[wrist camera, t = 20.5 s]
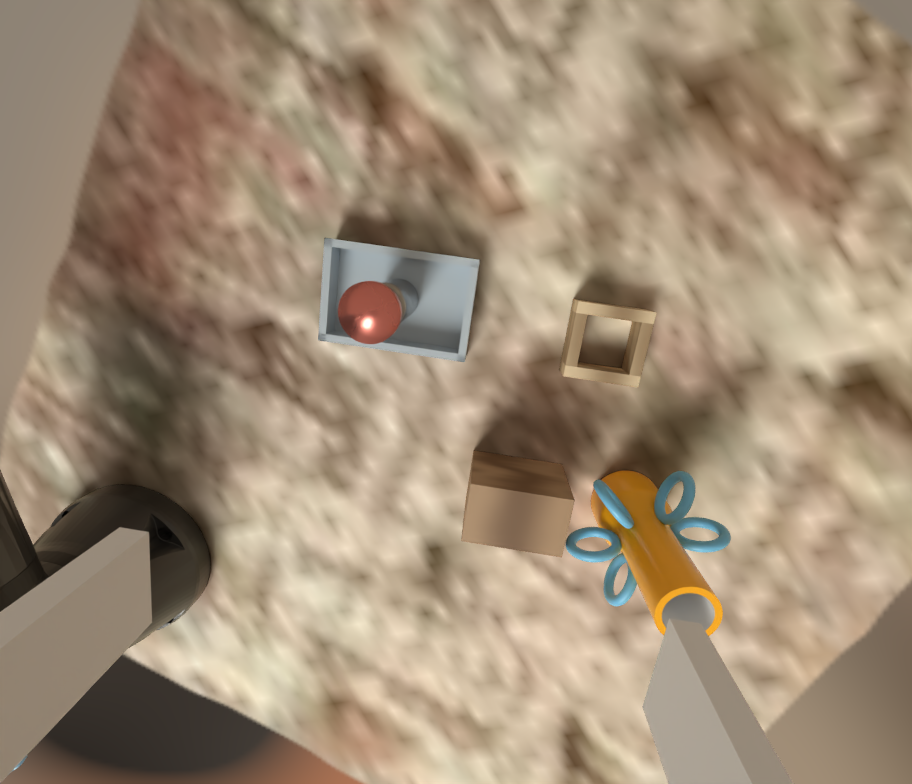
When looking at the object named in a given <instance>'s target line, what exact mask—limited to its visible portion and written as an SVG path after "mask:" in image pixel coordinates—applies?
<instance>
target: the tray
mask: <svg viewBox="0 0 912 784" xmlns="http://www.w3.org/2000/svg"><path fill="white" fill-rule="evenodd" d="M479 266H480V260H477V259H470V258H463V257H456V256H449V255H442V254H435V253H428V252H421V251H414V250H407V249H400V248H393V247H386V246H379V245H372V244H365V243H358V242H351V241H344V240H337V239H330V238H325V240H324V256H323V272H322V288H321V304H320V320H319V336H318V340H320V341H327V342H333V343H340V344H347V345H353V346H360V347H367V348H373V349H380V350H387V351H393V352H400V353H407V354H413V355H420V356H427V357H433V358H440V359H446V360H453V361H460V362H465V359H466V355H467V348H468V341H469V334H470V327H471V321H472V314H473V307H474V300H475V293H476V286H477V280H478V273H479ZM394 279H404V280H406V281H408V282H410V283H411V284H412V285H413V286H414V287H415V288H416V290H417V293H418V297H419V302H418V306H417V308H416V310H415V311H414V312H413V313H412V314H411V315H410V316H409V317H407V318H406V319H405V320H403V321H402V322H401V323H400V325H399V327H398V329H397V330H396V332H395V333H394V334H393V335H392V336H390V337H389V338H388V339H386V340H385V341H383V342H380V343H377V344H364V343H360V342H358V341H356V340H354V339H352V338H351V337H350V336H349V335H348V334H347V333H346V332H345V331H344V329H343V328H342V326H341V324H340V321H339V317H338V305H339V301H340V299H341V297H342V295H343V293H344V292H345V291H346V290H347V289H348V288H349V287H351V286H352V285H354V284H356V283H359V282H364V281H378V282H386V281H390V280H394Z"/></svg>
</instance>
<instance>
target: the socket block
mask: <svg viewBox="0 0 912 784" xmlns="http://www.w3.org/2000/svg"><path fill="white" fill-rule="evenodd" d="M656 313H657V312H653V311H650V310H646V309H640V308H633V307H626V306H619V305H612V304H605V303H598V302H591V301H584V300H577V299H573V303H572V308H571V313H570V318H569V323H568V328H567V333H566V338H565V343H564V348H563V353H562V358H561V363H560V368H559V370H560V372H561V373H562V375H563V376H565V377H572V378H578V379H585V380H591V381H598V382H605V383H611V384H618V385H625V386H631V387H638V386H639V382H640V378H641V374H642V370H643V366H644V362H645V358H646V353H647V349H648V345H649V341H650V337H651V333H652V329H653V325H654V321H655V317H656ZM588 315H594V316H601V317H608V318H615V319H622V320H629V321H632V325H631V329H630V333H629V338H628V342H627V346H626V351H625V355H624V359H623V363H622V368H615V367H609V366H602V365H595V364H589V363H582V362H578V359H579V354H580V349H581V344H582V340H583V335H584V330H585V325H586V321H587V316H588Z"/></svg>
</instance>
